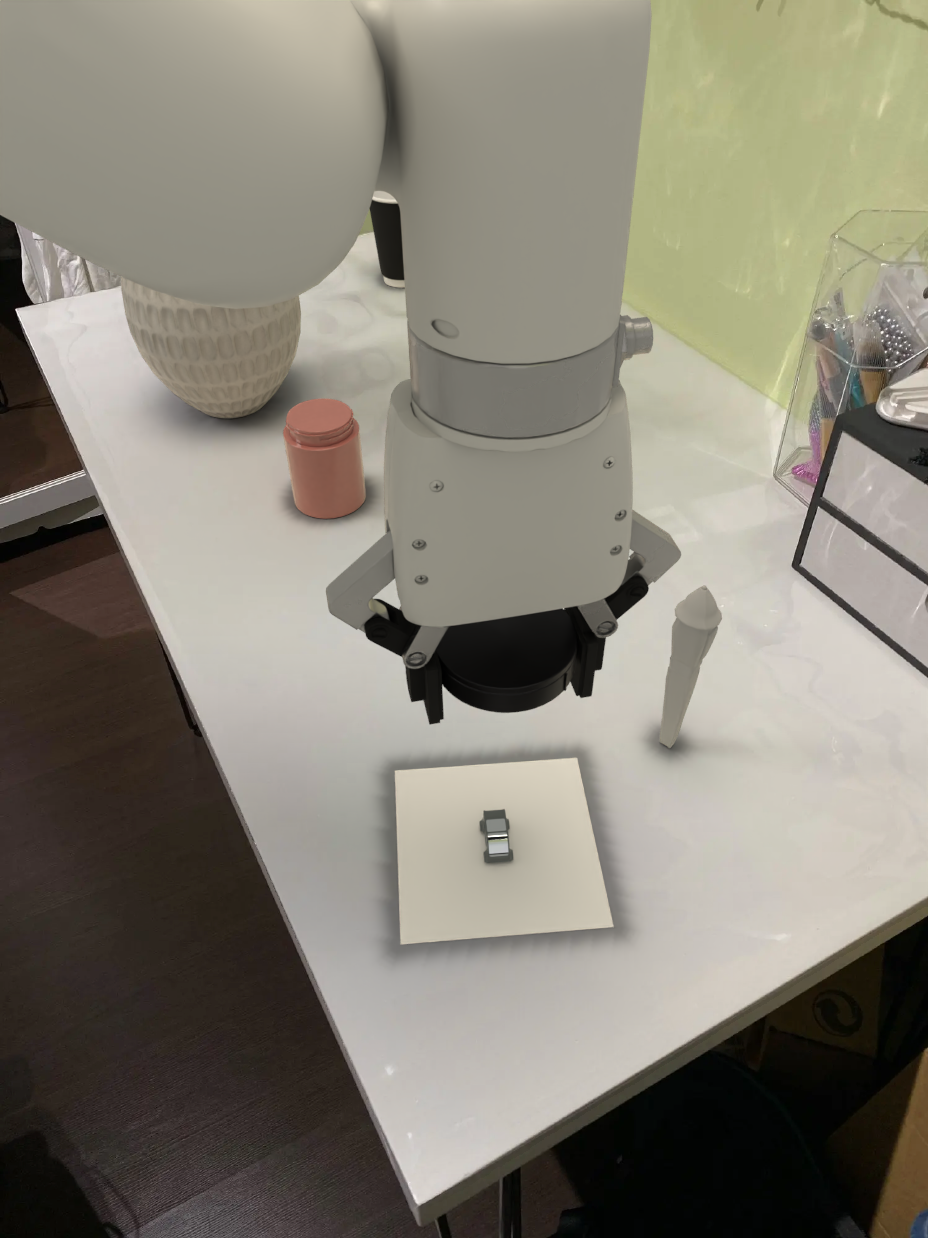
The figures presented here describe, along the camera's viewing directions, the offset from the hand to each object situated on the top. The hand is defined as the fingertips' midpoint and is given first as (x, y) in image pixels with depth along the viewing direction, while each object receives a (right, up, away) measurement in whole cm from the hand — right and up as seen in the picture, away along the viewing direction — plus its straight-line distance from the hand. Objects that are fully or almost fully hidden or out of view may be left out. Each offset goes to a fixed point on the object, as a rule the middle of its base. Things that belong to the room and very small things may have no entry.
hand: (503, 688), depth 45 cm
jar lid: (0, +2, -2) cm, 3 cm away
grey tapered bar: (+12, -5, +15) cm, 20 cm away
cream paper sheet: (0, -10, +10) cm, 14 cm away
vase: (-26, +26, +48) cm, 60 cm away
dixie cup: (-10, +46, +70) cm, 85 cm away
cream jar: (-14, +14, +36) cm, 41 cm away
